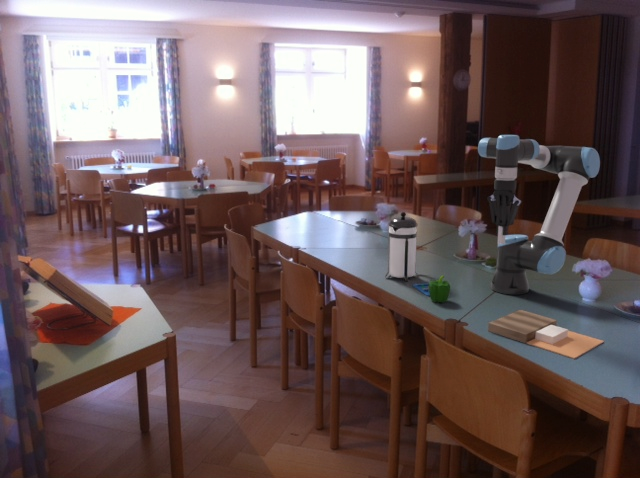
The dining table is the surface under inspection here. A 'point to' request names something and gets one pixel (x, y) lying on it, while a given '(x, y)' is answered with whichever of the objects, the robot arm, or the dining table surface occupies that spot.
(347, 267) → the dining table surface
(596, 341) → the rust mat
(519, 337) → the board
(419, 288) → the handheld gaming device
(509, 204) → the robot arm
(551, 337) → the cream block
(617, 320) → the dining table surface
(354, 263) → the dining table surface
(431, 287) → the bell pepper
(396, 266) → the coffee press
